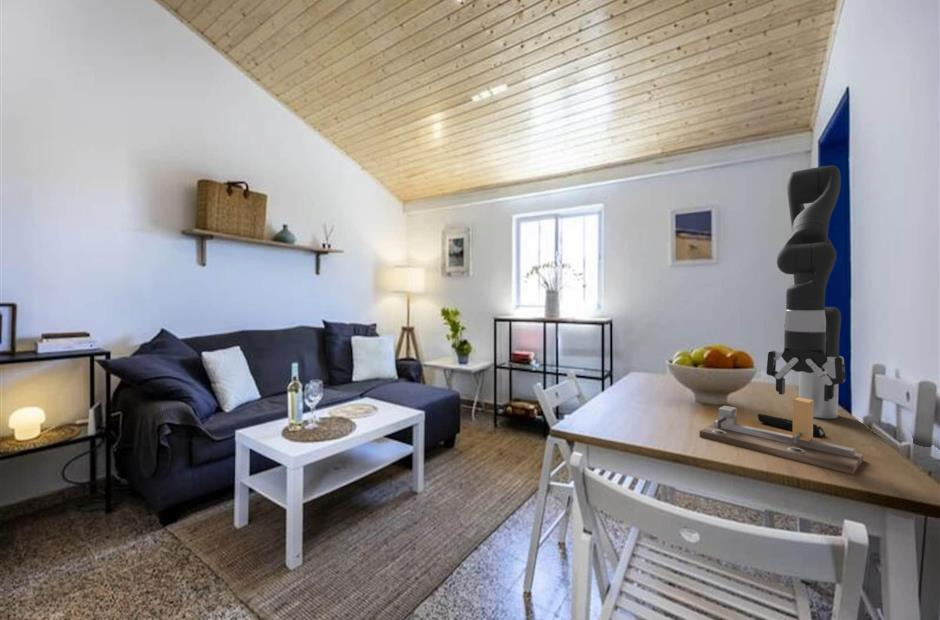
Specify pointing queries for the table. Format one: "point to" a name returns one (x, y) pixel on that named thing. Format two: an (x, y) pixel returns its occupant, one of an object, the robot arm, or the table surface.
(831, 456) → the bolt plate
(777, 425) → the electric trimmer
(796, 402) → the block
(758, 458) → the table surface
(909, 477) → the table surface
